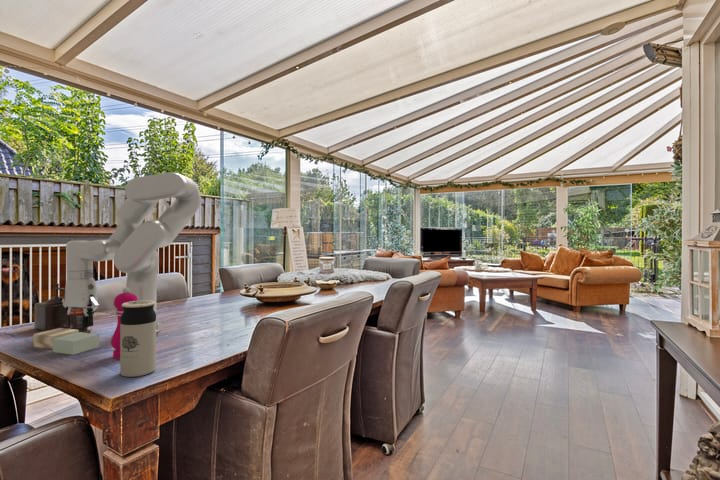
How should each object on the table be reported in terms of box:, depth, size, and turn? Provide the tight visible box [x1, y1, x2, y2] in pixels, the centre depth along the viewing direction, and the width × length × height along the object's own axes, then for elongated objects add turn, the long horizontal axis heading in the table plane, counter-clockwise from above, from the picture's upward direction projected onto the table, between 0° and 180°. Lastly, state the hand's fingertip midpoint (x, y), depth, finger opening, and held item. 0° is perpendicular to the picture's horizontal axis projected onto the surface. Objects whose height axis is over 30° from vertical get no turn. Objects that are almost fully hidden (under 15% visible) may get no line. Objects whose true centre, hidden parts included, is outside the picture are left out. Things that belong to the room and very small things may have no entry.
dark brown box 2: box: [33, 283, 70, 332], centre depth 143 cm, size 16×11×18 cm
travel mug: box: [119, 300, 157, 378], centre depth 97 cm, size 8×8×18 cm
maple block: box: [33, 328, 79, 350], centre depth 120 cm, size 8×8×4 cm
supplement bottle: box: [69, 305, 92, 333], centre depth 133 cm, size 6×6×11 cm
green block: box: [52, 332, 100, 356], centre depth 115 cm, size 8×8×4 cm
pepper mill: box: [110, 287, 138, 360], centre depth 110 cm, size 7×7×20 cm
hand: (80, 325), depth 133 cm, fingers closed on supplement bottle, 6 cm apart
